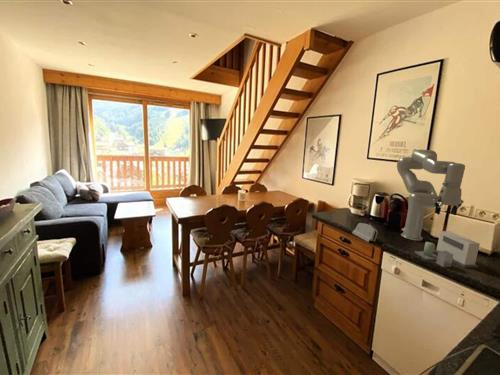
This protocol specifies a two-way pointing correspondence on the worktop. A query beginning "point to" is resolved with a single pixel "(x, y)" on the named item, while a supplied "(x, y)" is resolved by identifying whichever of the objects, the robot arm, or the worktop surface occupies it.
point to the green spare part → (429, 249)
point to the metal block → (444, 258)
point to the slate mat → (426, 256)
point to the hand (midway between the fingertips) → (445, 213)
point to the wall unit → (458, 248)
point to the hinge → (365, 232)
